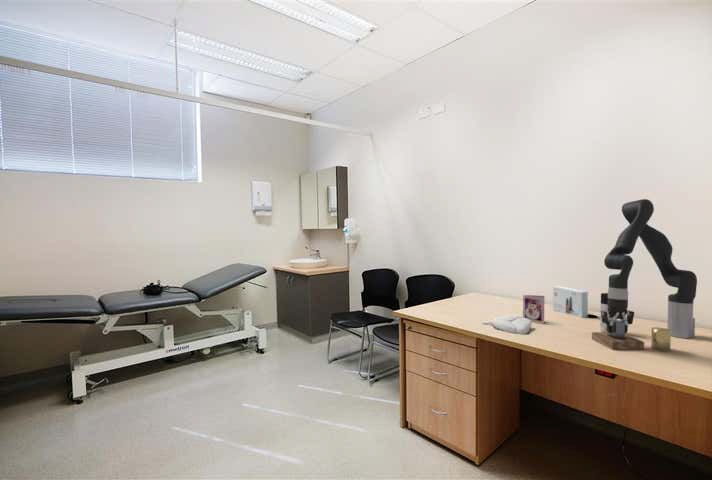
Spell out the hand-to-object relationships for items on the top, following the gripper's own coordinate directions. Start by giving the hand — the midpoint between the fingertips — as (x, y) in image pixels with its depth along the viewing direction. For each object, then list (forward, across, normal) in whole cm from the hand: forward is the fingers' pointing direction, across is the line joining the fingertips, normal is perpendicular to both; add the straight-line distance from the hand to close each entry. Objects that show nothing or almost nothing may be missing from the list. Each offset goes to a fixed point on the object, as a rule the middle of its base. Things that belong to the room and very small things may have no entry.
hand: (617, 332), depth 160 cm
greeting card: (+6, +19, -39) cm, 44 cm away
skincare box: (+6, -11, -57) cm, 58 cm away
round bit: (+6, -15, +6) cm, 17 cm away
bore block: (+6, 0, 0) cm, 6 cm away
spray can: (+6, -9, -19) cm, 22 cm away
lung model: (+6, +41, -27) cm, 50 cm away
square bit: (+6, 0, 0) cm, 6 cm away
